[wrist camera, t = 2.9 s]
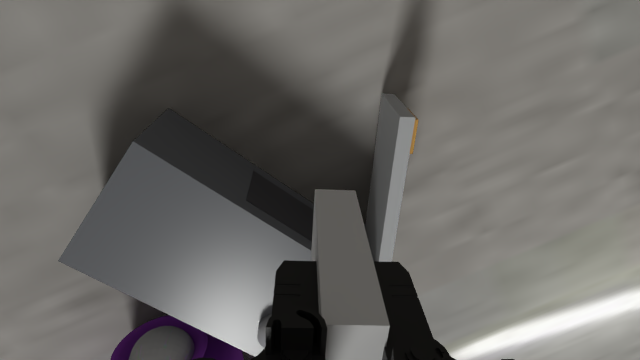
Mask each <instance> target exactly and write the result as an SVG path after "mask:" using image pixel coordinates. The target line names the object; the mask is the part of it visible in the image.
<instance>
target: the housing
mask: <svg viewBox="0 0 640 360" xmlns="http://www.w3.org/2000/svg"><path fill="white" fill-rule="evenodd" d="M313 214H314V204H313V203H311V202H310V201H308V200H307V199H305V198H304V197H302V196H301V195H299V194H298V193H296V192H295V191H293V190H292V189H290V188H289V187H287V186H286V185H284V184H283V183H281V182H280V181H278V180H277V179H275V178H274V177H272V176H270V175H269V174H267V173H266V172H264V171H263V170H261V169H260V168H258V167H257V166H255V165H254V164H252V163H251V162H249V161H248V160H246V159H245V158H243V157H242V156H240V155H239V154H237V153H236V152H234V151H233V150H231V149H230V148H228V147H227V146H225V145H224V144H222V143H221V142H219V141H218V140H216V139H215V138H213V137H211V136H210V135H208V134H207V133H205V132H204V131H202V130H201V129H199V128H198V127H196V126H195V125H193V124H192V123H190V122H189V121H187V120H186V119H184V118H183V117H181V116H180V115H178V114H177V113H175V112H174V111H172V110H171V109H169V108H168V109H167V110H166V111H165V112H164V113H163V114H162V115H161V116H160V117H159V118H157V119H156V120H155V121H154V122H153V123H152V124H151V125H150V126H149V127H148V128H147V129H146V130H145V131H143V132H142V133H141V134H140V135H139V136H138V137H137V138H136V139H135V140H134V141H133V142H132V144H131V145H130V147H129V148H128V150H127V152H126V153H125V155H124V156H123V158H122V159H121V161H120V163H119V164H118V166H117V167H116V169H115V171H114V172H113V174H112V175H111V177H110V179H109V180H108V182H107V183H106V185H105V187H104V188H103V190H102V191H101V193H100V195H99V196H98V198H97V199H96V201H95V203H94V204H93V206H92V207H91V209H90V211H89V212H88V214H87V215H86V217H85V219H84V220H83V222H82V223H81V225H80V227H79V228H78V230H77V231H76V233H75V235H74V236H73V238H72V239H71V241H70V243H69V244H68V246H67V247H66V249H65V251H64V252H63V254H62V255H61V257H60V259H59V260H58V261H59V262H61V263H63V264H65V265H67V266H69V267H71V268H74V269H76V270H78V271H80V272H82V273H84V274H86V275H88V276H90V277H92V278H94V279H96V280H98V281H100V282H102V283H104V284H106V285H108V286H111V287H113V288H115V289H117V290H119V291H121V292H123V293H125V294H127V295H129V296H131V297H133V298H135V299H137V300H139V301H141V302H143V303H146V304H148V305H150V306H152V307H154V308H156V309H158V310H160V311H162V312H164V313H166V314H168V315H170V316H172V317H174V318H176V319H178V320H181V321H183V322H185V323H187V324H189V325H191V326H193V327H195V328H197V329H199V330H201V331H203V332H205V333H207V334H209V335H211V336H213V337H215V338H218V339H220V340H222V341H224V342H226V343H228V344H230V345H232V346H234V347H236V348H238V349H240V350H242V351H244V352H246V353H248V354H250V355H253V356H255V357H256V356H257V355H258V354H259V353H260V352H261V351H262V350H263V349H264V348H265V346H266V325H267V322H268V320H269V318H270V317H271V315H272V305H273V297H274V286H275V276H276V270H277V269H278V268H279V266H280V265H281V264H282V262H283V261H284V260H289V261H312V253H311V249H312V231H313Z"/></svg>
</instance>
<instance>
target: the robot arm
mask: <svg viewBox="0 0 640 360" xmlns="http://www.w3.org/2000/svg"><path fill="white" fill-rule="evenodd" d="M311 253H312V261H289V260H284V261H283V262H282V264H281V265H280V266H279V268H278V269H277V270H276V276H275V286H274V297H273V305H272V315H271V317H270V318H269V320H268V322H267V325H266V346H265V348H264V349H263V350H262V351H261V352H260V353H259V354H258V355H257V356H256V357H254V358H253V359H251V360H455V359H454V358H452V357H451V356H450V355H449V353H448V352H447V350H446V349H445V347H444V346H442V345H441V344H440V343H439V342H438V341H436V340H434V338H433V336H432V333H431V331H430V328H429V325H428V323H427V320H426V317H425V315H424V312H423V309H422V306H421V304H420V301H419V298H417V293H416V290H415V288H414V285H413V282H412V279H411V277H410V274H409V272H408V271H407V270H406V269H405V268H404V267H403V266H402V265H401V264H400V263H399V262H378V261H373V258H372V254H371V250H370V246H369V242H368V238H367V234H366V230H365V226H364V222H363V218H362V215H361V211H360V207H359V203H358V199H357V195H356V191H355V190H327V189H315V196H314V214H313V231H312V249H311ZM193 360H216V359H213V358H201V357H200V358H196V359H193ZM502 360H514V359H502Z"/></svg>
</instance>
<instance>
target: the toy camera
mask: <svg viewBox="0 0 640 360" xmlns="http://www.w3.org/2000/svg"><path fill="white" fill-rule="evenodd" d="M200 357H201V358H213V359H216V360H244V358H243V353H242V350H240V349H238V348H236V347H234V346H232V345H230V344H228V343H226V342H224V341H222V340H220V339H218V338H215V337H213V336H211V335H209V334H207V333H205V332H203V331H201V330H199V329H197V328H195V327H193V326H191V325H189V324H187V323H185V322H183V321H181V320H178V319H176V318H174V317H172V316H170V315H167V316H163V317H159V318H156V319H153V320H151V321H149V322H146V323H144V324H143V325H141V326H139V327H137V328H136V329H134V330H133V331H132V332H130V333H129V334H128V335H127V336H126V337H125V338H124V339H123V340H122V341H121V342H120V343H119V344H118V346H117V347H116V348H115V350H114V352H113V354H112V356H111V360H193V359H196V358H200Z"/></svg>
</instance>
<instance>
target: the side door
mask: <svg viewBox="0 0 640 360" xmlns="http://www.w3.org/2000/svg"><path fill="white" fill-rule="evenodd" d="M417 125H418V119H417V118H416V117H415V115H414V114H413V113H412V112H411V111H410V110H409V109H408V108H406V106H405V105H404V104H403V103H402V102H401V101H400V100H399V99H398V98H397V96H396V95H395V94H383V93H382V94H381V102H380V110H379V119H378V127H377V135H376V143H375V151H374V159H373V167H372V175H371V183H370V191H369V200H368V208H367V216H366V223H365V224H364V226H365V230H366V234H367V238H368V242H369V246H370V250H371V254H372V258H373V261H378V262H392V257H393V251H394V244H395V238H396V232H397V226H398V220H399V214H400V208H401V202H402V196H403V190H404V184H405V178H406V172H407V166H408V160H409V154H413V149H414V143H415V137H416V131H417Z"/></svg>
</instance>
